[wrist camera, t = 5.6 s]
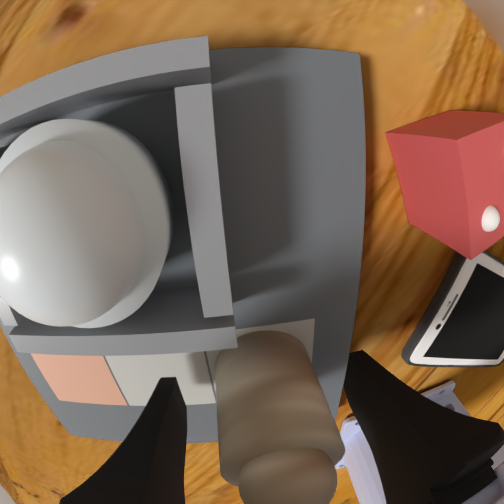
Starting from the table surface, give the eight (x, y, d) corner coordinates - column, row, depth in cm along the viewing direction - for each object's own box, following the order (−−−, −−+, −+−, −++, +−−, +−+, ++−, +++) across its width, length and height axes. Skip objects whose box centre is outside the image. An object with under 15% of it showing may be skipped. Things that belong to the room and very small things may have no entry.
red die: (450, 110, 10) (527, 116, 6) (467, 191, 11) (535, 219, 7) (385, 132, 10) (466, 141, 6) (408, 222, 11) (478, 265, 7)
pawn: (309, 323, 11) (381, 482, 5) (305, 388, 13) (350, 518, 6) (208, 336, 11) (213, 515, 5) (221, 400, 13) (234, 540, 6)
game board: (347, 59, 9) (399, 36, 5) (329, 410, 16) (347, 456, 12) (-36, 135, 7) (-87, 146, 4) (74, 424, 14) (62, 464, 11)
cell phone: (494, 360, 18) (500, 366, 17) (392, 355, 15) (400, 366, 14) (537, 286, 16) (544, 291, 15) (459, 234, 12) (470, 241, 12)
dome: (167, 104, 7) (117, 74, 3) (190, 280, 10) (177, 384, 5) (16, 145, 7) (-80, 168, 3) (51, 292, 9) (-9, 372, 5)
